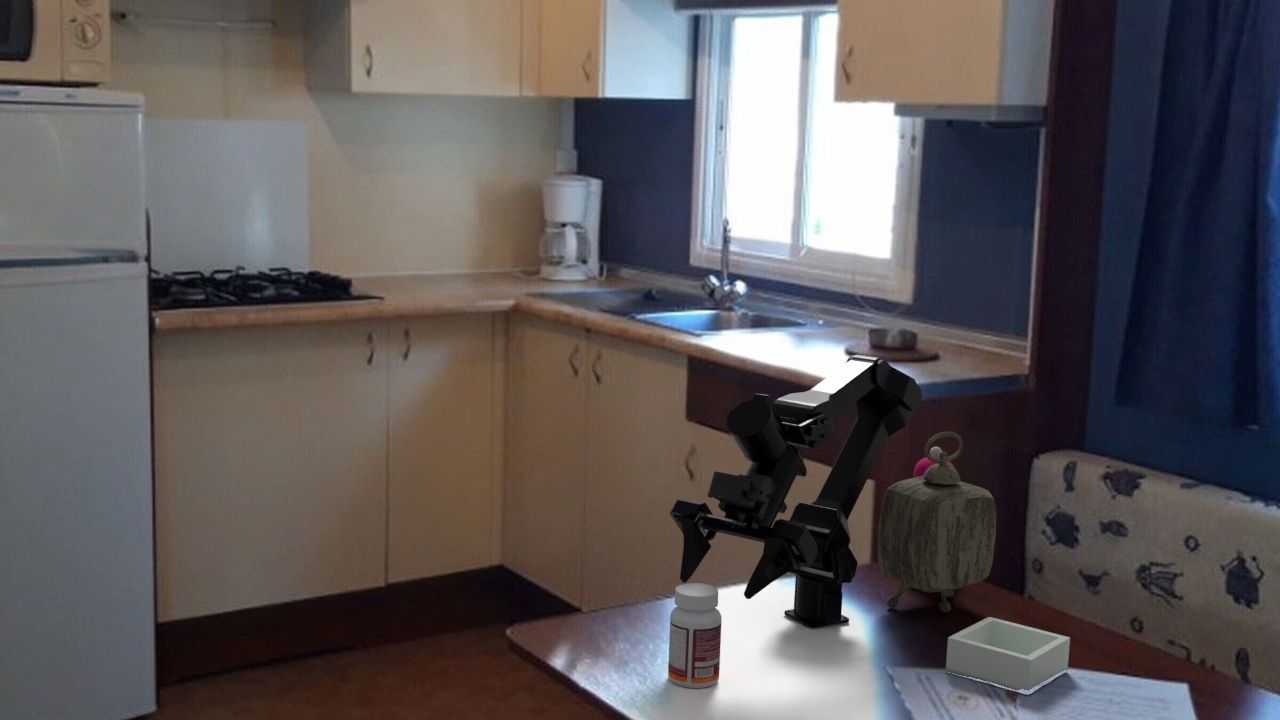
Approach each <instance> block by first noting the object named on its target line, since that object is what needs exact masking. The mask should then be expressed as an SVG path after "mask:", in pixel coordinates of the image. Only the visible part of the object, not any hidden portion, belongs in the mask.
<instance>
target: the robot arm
mask: <svg viewBox="0 0 1280 720" xmlns="http://www.w3.org/2000/svg"><path fill="white" fill-rule="evenodd" d="M922 393H923V392H922V389H921V387H920V385H918V383H917V381H916V379H915V378H914V377H912V376H910V375H908V374H907V373H904V372H902V371H901V370H899V369H897V368H895V367H893V366H891V364H890V363H889V362H888V361H886V360H885V359H883V358H881V357H877V356H871V355H864V354H855V355H850V356H849V357H848V358H847V360H846V362H845V364H843V365H842V366H840V367H839V368H838V369H837V370H835V371H833V372H832V373H831V374H829V375H828V376H827V377H825V378H824V379H823V380H822V381H820V382H819V383H818V384H816V385H815V386H813V387H812V388H811V389H810V390H807V391H802V392H793V393H788V394H785V395H783V396H781V397H778V398H776V399H775V401H774V402H773V399H772V397H771V396H770V395H769V394H763V393H762V394H761V393H754V395H753V398H752V399H750V400H749V399H748V400H747V401H743V402H741V403H739V404H738V405H737V406H736V407H734V409H731V410H730V411H729V413H728V414H727V418H726V426H727V429H728V432H730V434H731V436H732V437H733V440H734V441H735V442H736V443H735V444H737V447H738V448H739V449H740V451H741V453H742V455H743V457H744V458H745V459H746V460H747V461H749V462H751V464H750V465H749V468H748V469H747V471H746V474H738V475H736V474H732V473H726V472H721V471H717V470H714V472H713V475H712V477H711V482H710V486H709V489H708V492H707V494H706V495H707V497H708V498H710V499H712V498H713V499H715V500H717V501H719V503H718V504H717V507H718V508H719V510H720V511H721V512H723V513H725V514H724V516H720V515H719V516H718V515H716V514H714V513H713V512H712V511H711V508H709V505H708V504H707V503H706V502H704V501H700V500H695V499H691V498H687V497H681V498H678V499H677V500H676V501H675V502H674V503H673V506H672V507H671V509H670V510H669V516H670V517H671V518H672V520H673V521H674V522H675V524H676V525H677V527H678V529H679V530H680V531H681V533H682V535H683V548H682V557H681V564H680V572H679V573H680V574H679V579H680V581H681V583H683V584H687V583H688V580H689V579H691V577H692V576H693V575H694V573H695V572H696V570H697V569H698V567H699V566H700V564H701V563H702V561H703V560H704V558H705V557H706V556H707V554H708V552H709V551H710V549H711V548H712V545H711V544H710V541H712V540H713V539H714V538H715V537H716V535H717V533H721V534H724V535H729V536H734V537H737V538H742V539H747V540H750V541H756V542H760V543H764V544H763V549H762V550H763V552H762V554H761V557H760V559H759V561H758V563H757V565H756V567H755V568H754V570H753V572H752V573H751V576H750V578H749V580H748V582H747V585H746V586H745V589H744V593H743V596H744V597H745V599H746V600H751V599H752V598H753V597H755V596H756V595H757V594H758V593H760V592H761V591H762V590H763V589H765V588H766V587H768V586H770V585H771V584H772V583H774V582H775V581H776V580H778V579H779V578H781V577H783V576H785V575H786V574H789V573H790V574H795V582H794V600H793V602H794V603H793V608H792V609H786V610H784V614H783V615H785V616H787V618H790V619H792V620H794V621H796V622H797V623H800V624H802V625H804V626H805V627H807V628H810V629H816V628H817V629H818V628H823V627H828V626H834V625H839V624H840V625H841V624H847V623H849V622H850V617H848V616H846V615H843V614H842V609H843V608H842V607H843V584H851V583H852V582H853V579H854V578H855V577H856V572H857V567H858V560H857V559H856V556H855V555H854V554H853V552H852V550H851V549H850V544H851V534H850V529H849V523H848V520H849V518H850V515H851V514H852V512H853V509H854V508H855V505H856V503H857V501H858V499H859V498H860V495H861V493H862V492H863V489H864V487H865V485H866V483H867V482H868V478H869V477H870V475H871V473H872V471H873V469H874V466H875V464H876V463H877V461H878V459H879V457H880V454H882V450H883V449H884V446H885V445H886V442H887V441H888V439H889V437H890V436H893V435H894V434H896V433H897V432H899V431H900V430H902V429H904V428H905V427H907V426H908V425H909V423H910V421H911V419H912V418H913V417H914V415H915V414H916V411H917V410H919V408H920V406H921V403H922V399H923V396H922V395H923V394H922ZM853 405H855V411H856V421H855V422H854V425H853V427H852V428H851V431H850V433H849V434H848V436H847V438H846V440H845V442H844V444H843V446H842V448H841V450H840V452H839V454H838V457H837V458H836V460H835V462H834V464H833V466H832V468H831V470H830V472H829V474H828V475H827V478H826V479H825V482H824V483H823V486H821V490H820V491H819V493H818V496H817V497H816V499H815V500H814V501H813V502H812V503H806V502H802V501H800V502H798V503H797V505H796V506H795V507H794V508H793V512H792V515H791V517H790V518H789V520H787V519H782V518H780V519H776V518H777V516H778V515H779V513H780V514H785V513H786V510H787V508H788V505H787V504H786V502H785V499H786V498H787V496H788V494H789V492H790V490H791V488H792V485H793V484H794V482H795V480H796V478H797V476H798V477H804V478H805V477H806V476H807V474H808V473H807V472H808V471H807V466H806V464H805V460H804V457H805V456H804V455H803V454H800V452H799V450H798V449H797V448H796V447H795V446H797V447H803V448H809V449H812V450H813V449H815V450H816V449H818V448H819V447H821V446H822V444H823V443H824V442H825V441H826V440H827V439H828V438H829V437H830V435H831V434H832V433H833V432H834V431H833V428H834V427H833V422H834V421H835V419H836V418H837V417H839V416H841V415H842V414H843V413H844V412H845V411H846V410H848V409H849V408H850V407H852V406H853ZM689 581H690V580H689Z"/></svg>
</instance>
